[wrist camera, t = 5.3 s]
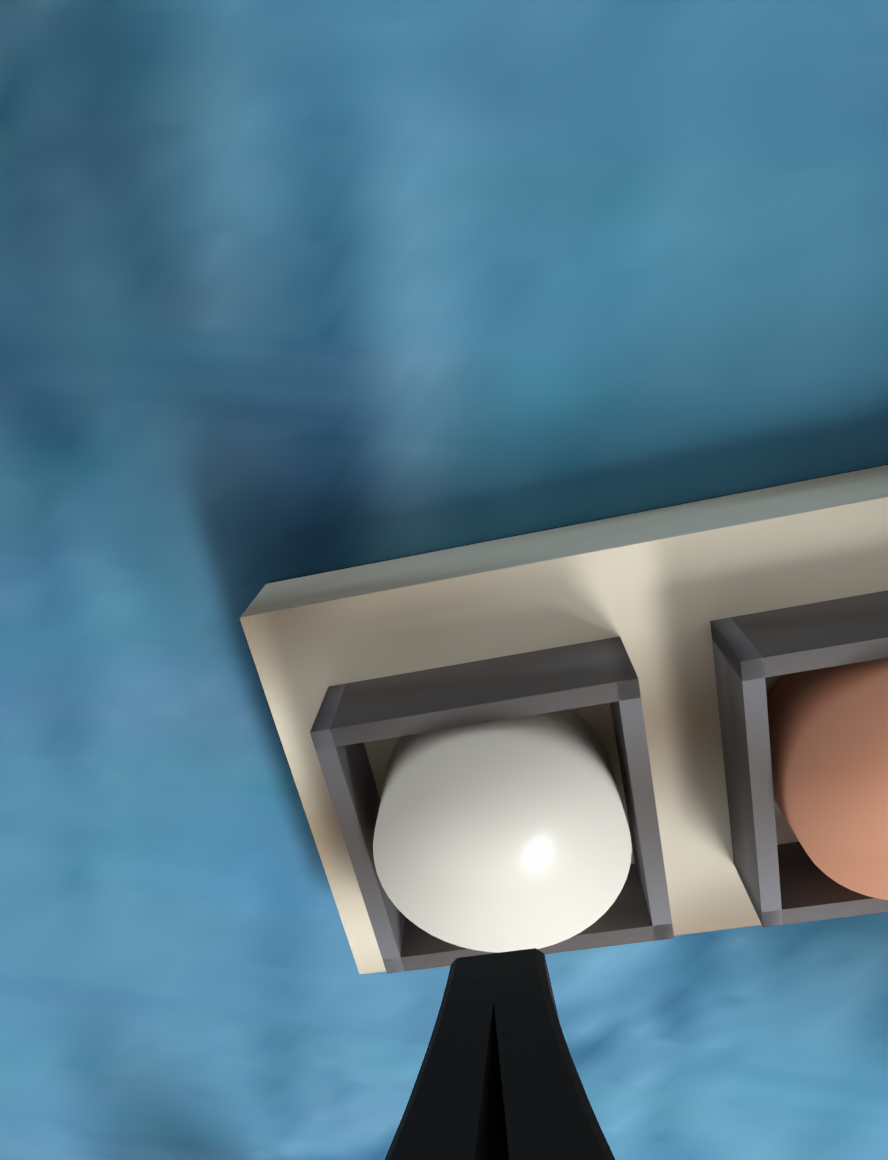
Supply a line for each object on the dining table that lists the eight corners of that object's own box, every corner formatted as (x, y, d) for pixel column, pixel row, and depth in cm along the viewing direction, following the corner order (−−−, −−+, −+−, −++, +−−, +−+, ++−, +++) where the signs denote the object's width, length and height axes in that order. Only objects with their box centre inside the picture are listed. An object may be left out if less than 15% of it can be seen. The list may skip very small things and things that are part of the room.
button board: (1379, 777, 17) (1615, 899, 14) (371, 912, 20) (347, 1041, 17) (1493, 348, 14) (1843, 361, 10) (265, 583, 17) (208, 656, 13)
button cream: (627, 865, 16) (646, 936, 15) (413, 893, 17) (405, 966, 15) (596, 672, 15) (613, 724, 13) (360, 711, 15) (344, 767, 13)
